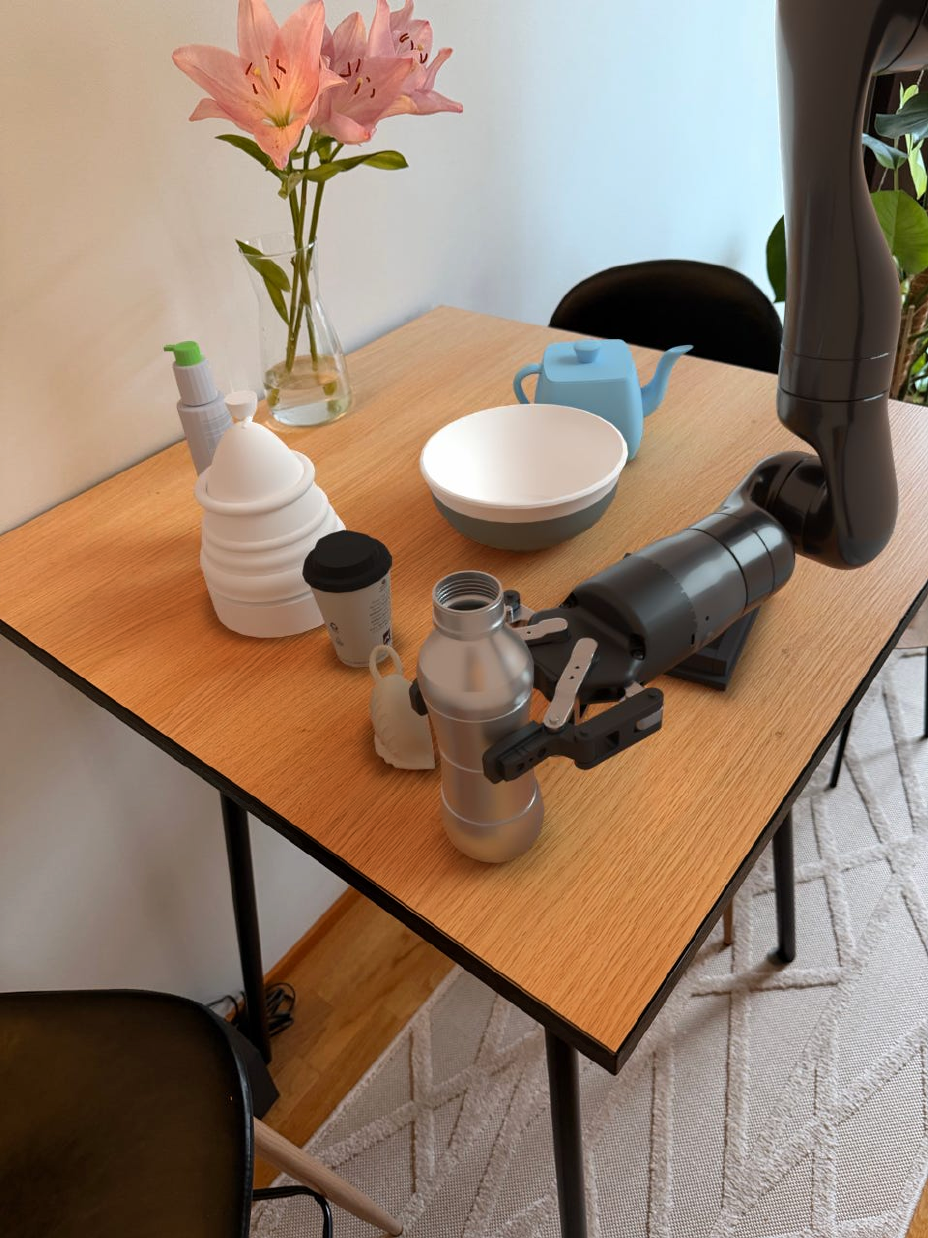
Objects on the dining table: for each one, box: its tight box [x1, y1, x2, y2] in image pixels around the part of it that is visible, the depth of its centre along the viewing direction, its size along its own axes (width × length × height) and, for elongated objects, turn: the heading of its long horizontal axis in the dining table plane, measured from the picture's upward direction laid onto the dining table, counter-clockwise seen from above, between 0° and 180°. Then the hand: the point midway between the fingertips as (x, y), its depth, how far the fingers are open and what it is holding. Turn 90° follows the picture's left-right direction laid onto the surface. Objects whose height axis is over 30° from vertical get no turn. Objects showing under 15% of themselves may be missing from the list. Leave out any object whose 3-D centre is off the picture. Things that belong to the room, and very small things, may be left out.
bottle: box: [163, 340, 235, 478], centre depth 82 cm, size 4×4×20 cm
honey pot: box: [193, 389, 347, 639], centre depth 76 cm, size 13×13×18 cm
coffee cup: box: [302, 529, 393, 668], centre depth 71 cm, size 7×7×10 cm
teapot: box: [512, 338, 694, 462], centre depth 94 cm, size 12×18×12 cm
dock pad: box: [622, 552, 762, 692], centre depth 73 cm, size 12×12×2 cm
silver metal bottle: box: [415, 570, 546, 864], centre depth 53 cm, size 6×7×20 cm
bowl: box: [418, 403, 628, 553], centre depth 84 cm, size 19×19×8 cm
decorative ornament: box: [368, 645, 436, 770], centre depth 65 cm, size 4×8×5 cm, turn 6°
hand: (449, 734), depth 51 cm, fingers closed on silver metal bottle, 6 cm apart
